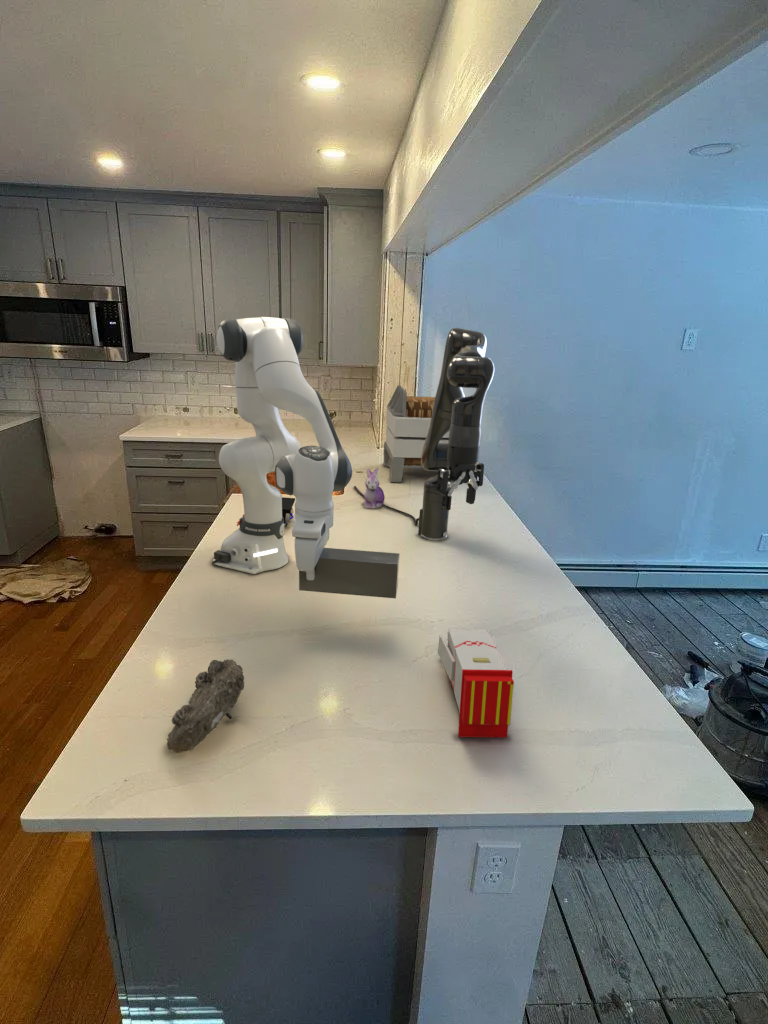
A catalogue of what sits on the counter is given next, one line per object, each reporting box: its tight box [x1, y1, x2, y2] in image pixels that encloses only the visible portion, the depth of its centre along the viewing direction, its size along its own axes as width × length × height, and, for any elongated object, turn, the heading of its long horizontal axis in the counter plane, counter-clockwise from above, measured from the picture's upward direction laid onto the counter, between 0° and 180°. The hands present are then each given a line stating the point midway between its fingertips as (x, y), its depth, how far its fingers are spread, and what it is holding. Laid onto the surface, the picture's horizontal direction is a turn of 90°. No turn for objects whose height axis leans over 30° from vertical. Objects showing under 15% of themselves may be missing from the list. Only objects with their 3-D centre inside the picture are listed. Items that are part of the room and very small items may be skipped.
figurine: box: [363, 467, 385, 509], centre depth 225 cm, size 9×10×15 cm
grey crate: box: [383, 384, 453, 483], centre depth 268 cm, size 34×33×41 cm
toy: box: [437, 628, 515, 738], centre depth 117 cm, size 12×13×30 cm
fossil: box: [166, 658, 245, 754], centre depth 106 cm, size 22×10×15 cm
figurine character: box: [282, 496, 296, 528], centre depth 204 cm, size 7×8×15 cm
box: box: [298, 547, 400, 599], centre depth 134 cm, size 23×6×9 cm, turn 85°
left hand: (314, 572), depth 135 cm, fingers closed on box, 6 cm apart
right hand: (458, 506), depth 141 cm, fingers open, 8 cm apart
